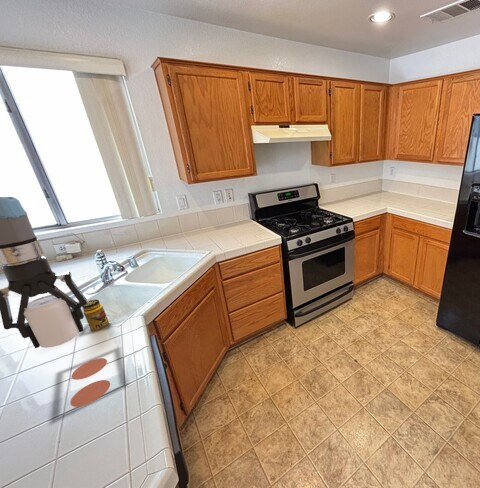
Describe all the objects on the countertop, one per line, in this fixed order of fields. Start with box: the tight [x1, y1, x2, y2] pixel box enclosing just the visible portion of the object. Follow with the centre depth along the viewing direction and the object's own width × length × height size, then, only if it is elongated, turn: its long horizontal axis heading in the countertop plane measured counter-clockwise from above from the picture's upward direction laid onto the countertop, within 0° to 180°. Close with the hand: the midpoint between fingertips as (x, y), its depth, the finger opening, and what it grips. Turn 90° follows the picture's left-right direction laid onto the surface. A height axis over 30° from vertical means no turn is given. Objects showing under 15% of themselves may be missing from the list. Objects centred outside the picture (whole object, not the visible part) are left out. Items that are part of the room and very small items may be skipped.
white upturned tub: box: [24, 294, 81, 349], centre depth 70 cm, size 8×8×12 cm
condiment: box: [81, 298, 110, 331], centre depth 106 cm, size 7×8×12 cm
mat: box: [69, 357, 111, 408], centre depth 81 cm, size 15×22×1 cm
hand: (60, 337), depth 71 cm, fingers closed on white upturned tub, 8 cm apart
